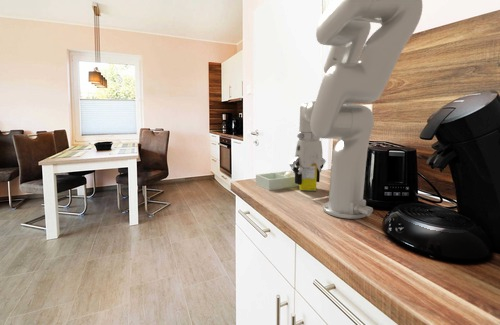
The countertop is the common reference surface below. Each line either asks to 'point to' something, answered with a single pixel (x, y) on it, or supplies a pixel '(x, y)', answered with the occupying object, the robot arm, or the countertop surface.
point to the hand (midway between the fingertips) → (307, 182)
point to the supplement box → (309, 179)
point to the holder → (275, 180)
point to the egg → (289, 174)
